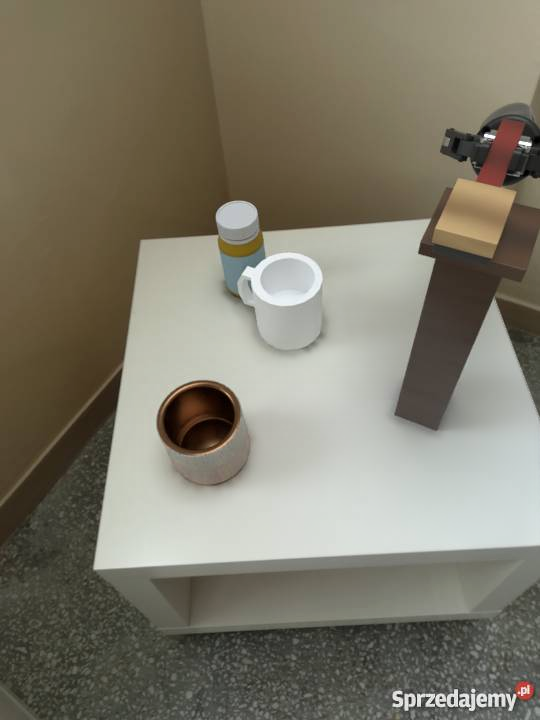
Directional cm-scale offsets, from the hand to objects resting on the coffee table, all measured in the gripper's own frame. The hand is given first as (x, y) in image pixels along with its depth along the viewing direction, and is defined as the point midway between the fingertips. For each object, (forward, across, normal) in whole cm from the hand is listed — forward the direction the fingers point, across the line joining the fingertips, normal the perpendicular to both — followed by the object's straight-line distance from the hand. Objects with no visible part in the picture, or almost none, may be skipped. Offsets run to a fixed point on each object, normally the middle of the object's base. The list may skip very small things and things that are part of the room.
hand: (498, 159), depth 48 cm
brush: (+1, 0, +3) cm, 3 cm away
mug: (-17, -24, +31) cm, 43 cm away
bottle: (-21, -32, +29) cm, 48 cm away
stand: (-12, +1, +34) cm, 36 cm away
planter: (+3, -23, +43) cm, 49 cm away
